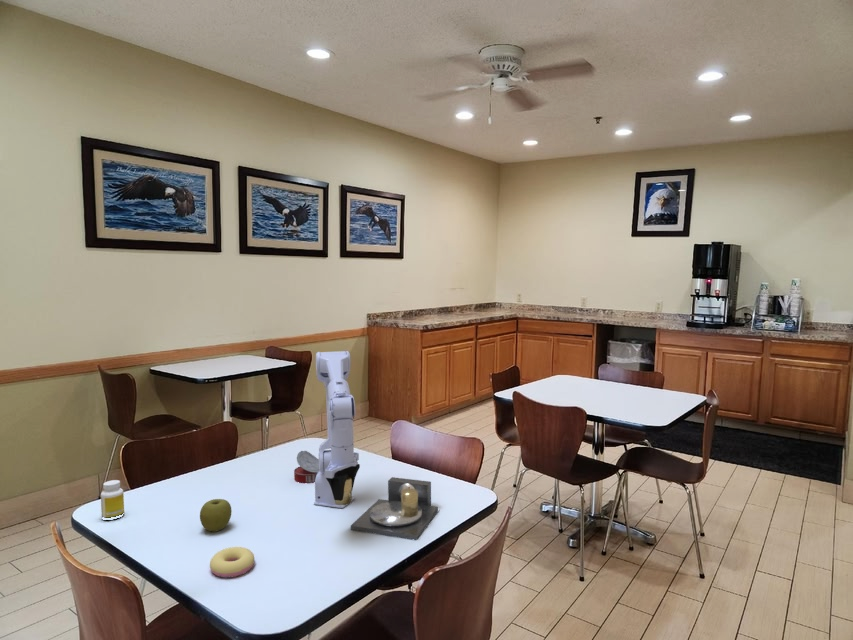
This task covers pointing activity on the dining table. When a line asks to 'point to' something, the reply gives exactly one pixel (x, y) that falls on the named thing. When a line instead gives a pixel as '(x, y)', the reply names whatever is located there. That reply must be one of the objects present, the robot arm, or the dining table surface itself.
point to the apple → (215, 514)
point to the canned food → (306, 468)
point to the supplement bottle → (112, 499)
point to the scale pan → (392, 514)
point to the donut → (232, 562)
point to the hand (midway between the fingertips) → (343, 496)
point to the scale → (394, 494)
